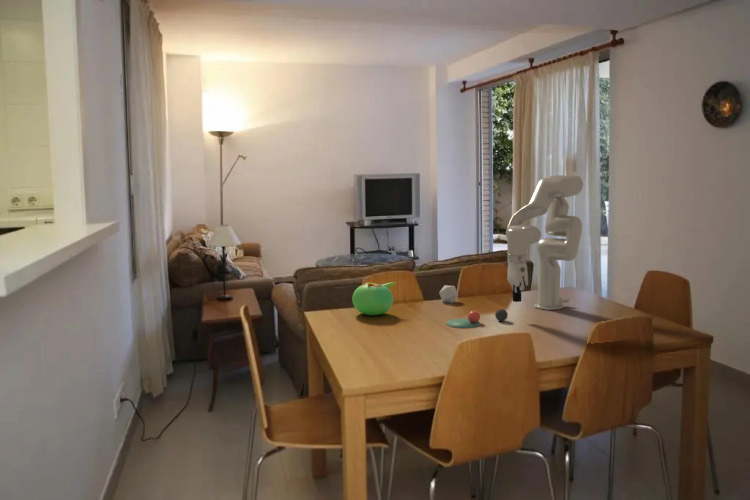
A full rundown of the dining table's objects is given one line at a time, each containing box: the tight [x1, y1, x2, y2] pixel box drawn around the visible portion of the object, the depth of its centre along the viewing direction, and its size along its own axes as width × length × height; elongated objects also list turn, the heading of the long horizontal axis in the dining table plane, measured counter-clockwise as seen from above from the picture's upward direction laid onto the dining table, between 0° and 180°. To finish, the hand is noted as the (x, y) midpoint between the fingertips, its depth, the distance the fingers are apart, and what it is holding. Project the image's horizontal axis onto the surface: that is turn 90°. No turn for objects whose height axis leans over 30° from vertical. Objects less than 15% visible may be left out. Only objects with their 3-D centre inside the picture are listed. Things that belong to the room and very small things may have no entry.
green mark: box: [445, 318, 482, 329], centre depth 232 cm, size 14×14×1 cm
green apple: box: [351, 281, 397, 316], centre depth 248 cm, size 18×17×15 cm
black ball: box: [494, 308, 509, 322], centre depth 235 cm, size 5×5×5 cm
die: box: [438, 284, 459, 304], centre depth 271 cm, size 8×9×10 cm
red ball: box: [467, 310, 481, 323], centre depth 233 cm, size 5×5×5 cm
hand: (516, 301), depth 237 cm, fingers closed
